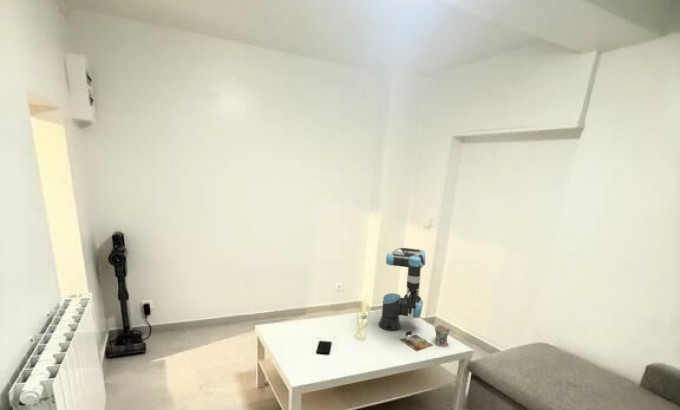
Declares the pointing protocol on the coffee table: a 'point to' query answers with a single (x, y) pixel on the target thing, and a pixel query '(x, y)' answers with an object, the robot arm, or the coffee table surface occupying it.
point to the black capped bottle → (412, 340)
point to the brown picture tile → (424, 342)
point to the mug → (441, 336)
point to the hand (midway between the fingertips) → (410, 317)
